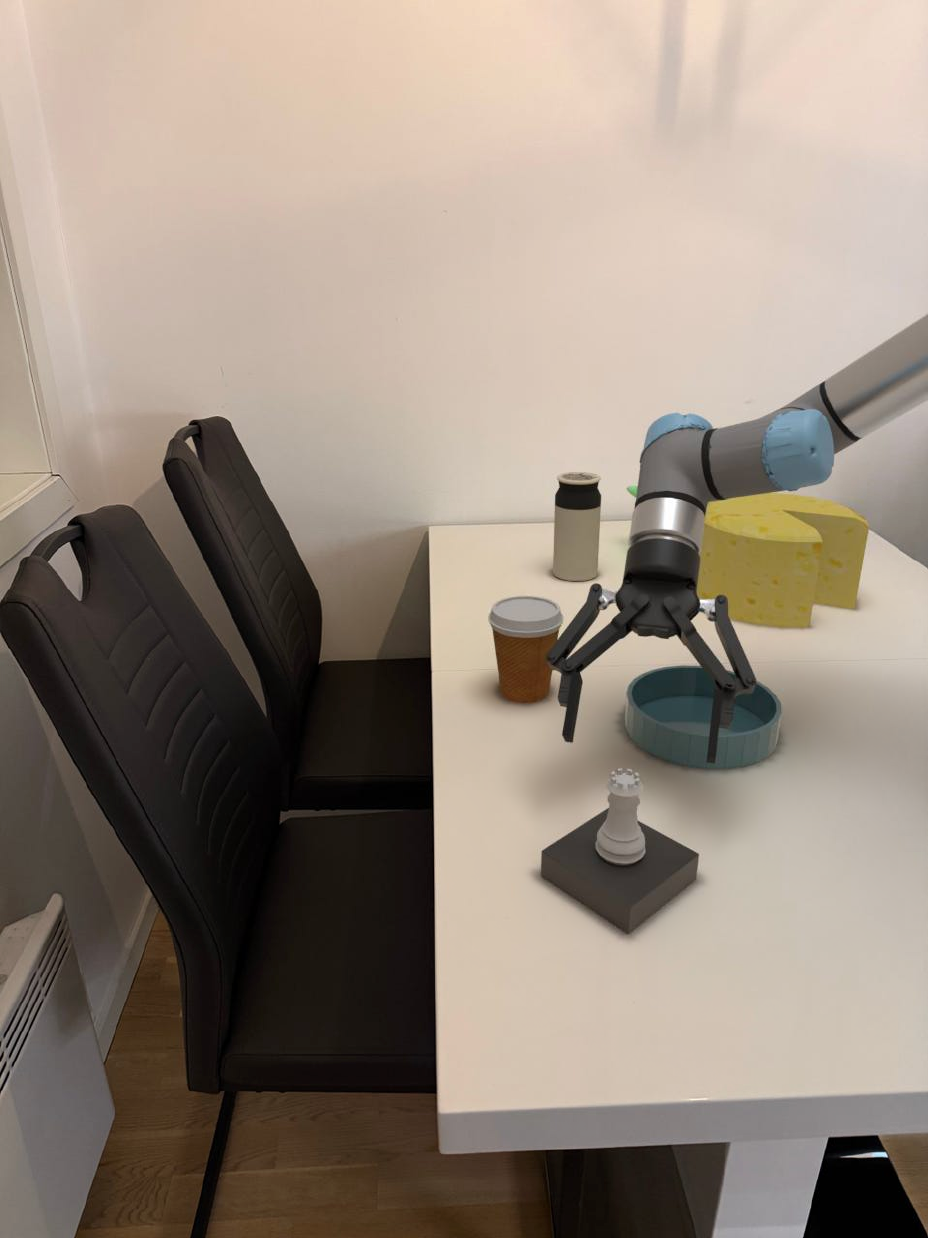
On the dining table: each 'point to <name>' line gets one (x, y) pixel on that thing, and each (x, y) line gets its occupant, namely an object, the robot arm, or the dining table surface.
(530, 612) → the disposable coffee cup
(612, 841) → the rook chess piece
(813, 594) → the cheese
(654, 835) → the stand
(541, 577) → the dining table surface
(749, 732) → the tin
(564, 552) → the travel mug
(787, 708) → the dining table surface
